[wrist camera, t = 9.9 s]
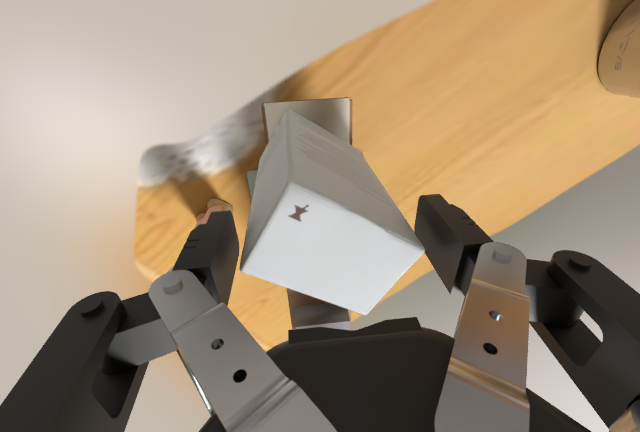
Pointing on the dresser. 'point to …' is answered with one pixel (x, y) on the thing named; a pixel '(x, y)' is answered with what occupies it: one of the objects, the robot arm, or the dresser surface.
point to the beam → (339, 123)
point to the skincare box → (324, 220)
